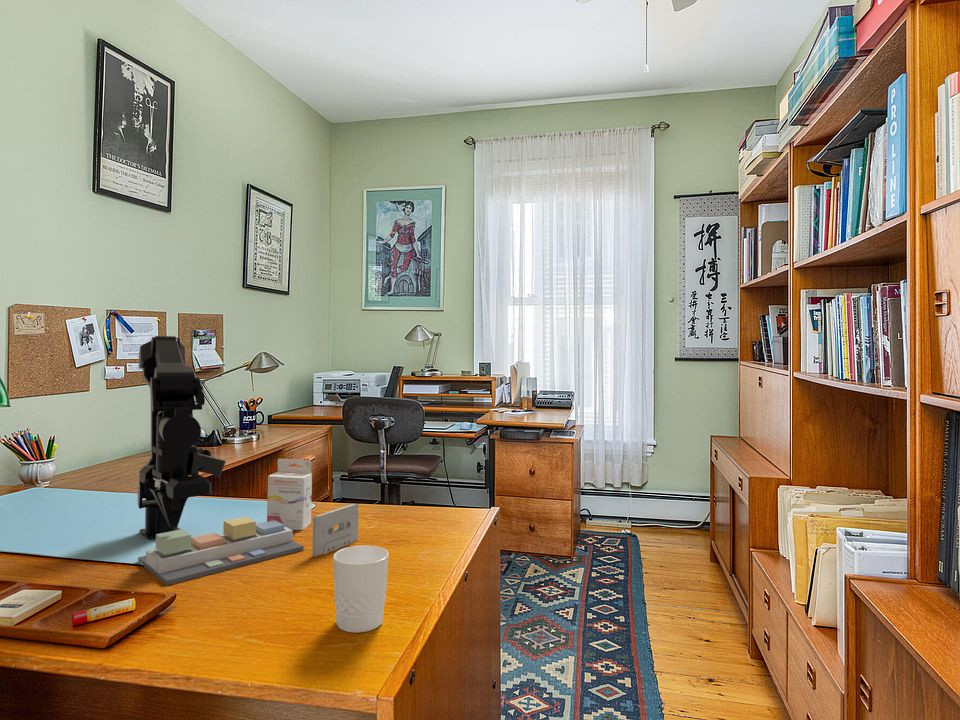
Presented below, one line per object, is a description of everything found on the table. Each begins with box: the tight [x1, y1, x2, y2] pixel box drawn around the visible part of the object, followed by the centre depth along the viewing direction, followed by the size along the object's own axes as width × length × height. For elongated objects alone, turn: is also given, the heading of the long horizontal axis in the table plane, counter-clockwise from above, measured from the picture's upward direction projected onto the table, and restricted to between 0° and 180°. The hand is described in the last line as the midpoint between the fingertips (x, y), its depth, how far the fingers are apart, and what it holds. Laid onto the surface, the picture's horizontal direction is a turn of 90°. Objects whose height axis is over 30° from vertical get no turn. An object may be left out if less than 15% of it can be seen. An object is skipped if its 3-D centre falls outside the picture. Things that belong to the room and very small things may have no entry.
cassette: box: [311, 503, 359, 557], centre depth 116 cm, size 12×2×8 cm, turn 150°
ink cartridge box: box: [266, 458, 313, 531], centre depth 129 cm, size 9×5×15 cm, turn 84°
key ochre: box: [222, 516, 257, 540], centre depth 112 cm, size 4×4×3 cm
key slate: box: [256, 520, 284, 536], centre depth 117 cm, size 4×4×3 cm
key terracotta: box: [191, 532, 225, 550], centre depth 108 cm, size 4×4×3 cm
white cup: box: [332, 545, 389, 634], centre depth 84 cm, size 8×8×10 cm
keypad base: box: [137, 526, 304, 586], centre depth 110 cm, size 15×25×3 cm, turn 136°
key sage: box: [155, 528, 192, 555], centre depth 104 cm, size 4×4×3 cm
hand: (173, 527), depth 104 cm, fingers closed
